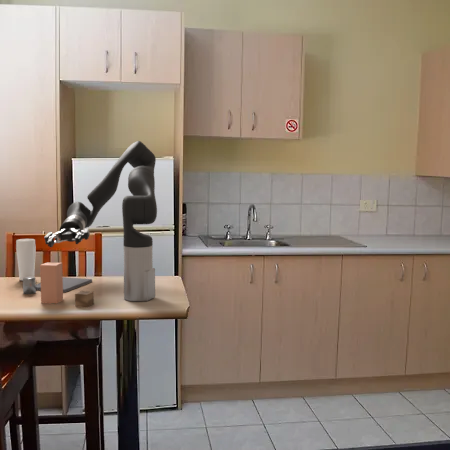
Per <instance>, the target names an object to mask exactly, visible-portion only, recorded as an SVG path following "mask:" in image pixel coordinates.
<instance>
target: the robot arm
mask: <svg viewBox="0 0 450 450" xmlns="http://www.w3.org/2000/svg"><path fill="white" fill-rule="evenodd" d="M156 160H157V159H156V156H155V154H154V153H153V152H152V150H150V149H149V148H148V147H147V146H146V145H145V144H144V143H143V142H142V141H140V140H137V141H134V142H133V143H131V144H130V145H129V146H128V147H127V148H126V150H124V152H123V153H122V155H120V156H119V158H118V159H117V161H116V162H115V163H114V165H112V167H111V168H110V170H109V171H108V173H107V174H105V177H104V178H102V180H101V181H100V182H99V183H98V184H97V185H96V186H95V187H94V188H93V189H92V190H91V191H90V192H89V193H88V194H87V196H86V197H87V198H86V199H87V200H88V202H89V203H90V204H91V206H92V210H91V209H89V208H88V207H87V206H86V205H85V204H84V203H82V202H81V201H74V202H72V203H71V204H70V205H69V206H68V208H67V212H66V219H65V220H63V222H62V224H61V225H60V226H59V227H60V228H59V231H57V232H54V233H53V232H52V231H49V232H48V233H47V234H46V235H45V236H44V242H45V245H47V246H48V247H49V248H53V246H54V245H55V244H61V243H63V242H72V243H73V242H74V243H75V245H78V244H80V243H81V242H82V241H83V239H84V240H89V238H90V234H91V233H90V227H91V226H92V224H93V223H94V222H95V219H96V217H97V216H98V215H99V212H100V211H101V209H102V208H103V207H104V206H105V205H106V204H107V203H108V202H109V201H110V200H111V199H112V198H113V197H114V195H115V194H116V192H117V190H118V186H119V182H120V178H121V174H122V172H123V169H124V168H125V167H126V165H127V164H129V165H130V166H131V167H132V170H131V171H130V172H129V174H128V178H127V179H128V180H127V181H128V182H127V186H128V191H129V192H130V194H131V195H125V196H124V197H123V199H122V204H121V208H122V209H121V210H122V211H121V213H122V225H123V241H122V242H123V299H124V301H125V300H126V301H128V302H130V301H131V302H149V301H150V300H152V299H154V298H155V297H156V269H155V268H154V267H153V262H154V261H153V260H154V259H153V254H154V253H153V238H152V236H150V235H148V234H145V233H143V232H140V231H139V230H137V229H136V228H135V227H134V225H152V224H153V223H155V221H156V220H157V215H158V206H157V205H158V204H157V200H156V195H155V189H156V188H155V187H156V186H155V183H156V182H155V166H156Z"/></svg>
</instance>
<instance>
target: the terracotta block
mask: <svg viewBox="0 0 450 450" xmlns="http://www.w3.org/2000/svg"><path fill="white" fill-rule="evenodd" d="M39 267H40V270H39V273H40V276H39V277H40V283H41V290H40V301H41V302H40V303H41V304H51V303H57V304H59V303H61V302H62V301H64V292H63V277H64V276H63V262H48V261H47V262H45V263H42V264H39ZM58 302H59V303H58Z"/></svg>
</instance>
